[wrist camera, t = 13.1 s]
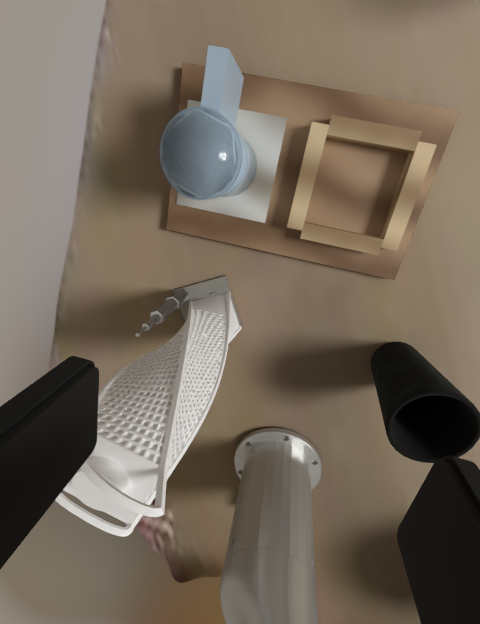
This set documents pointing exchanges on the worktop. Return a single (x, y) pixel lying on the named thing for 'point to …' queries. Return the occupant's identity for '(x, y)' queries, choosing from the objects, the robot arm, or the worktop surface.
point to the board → (329, 180)
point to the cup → (422, 406)
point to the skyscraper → (155, 410)
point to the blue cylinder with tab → (210, 137)
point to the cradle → (403, 195)
